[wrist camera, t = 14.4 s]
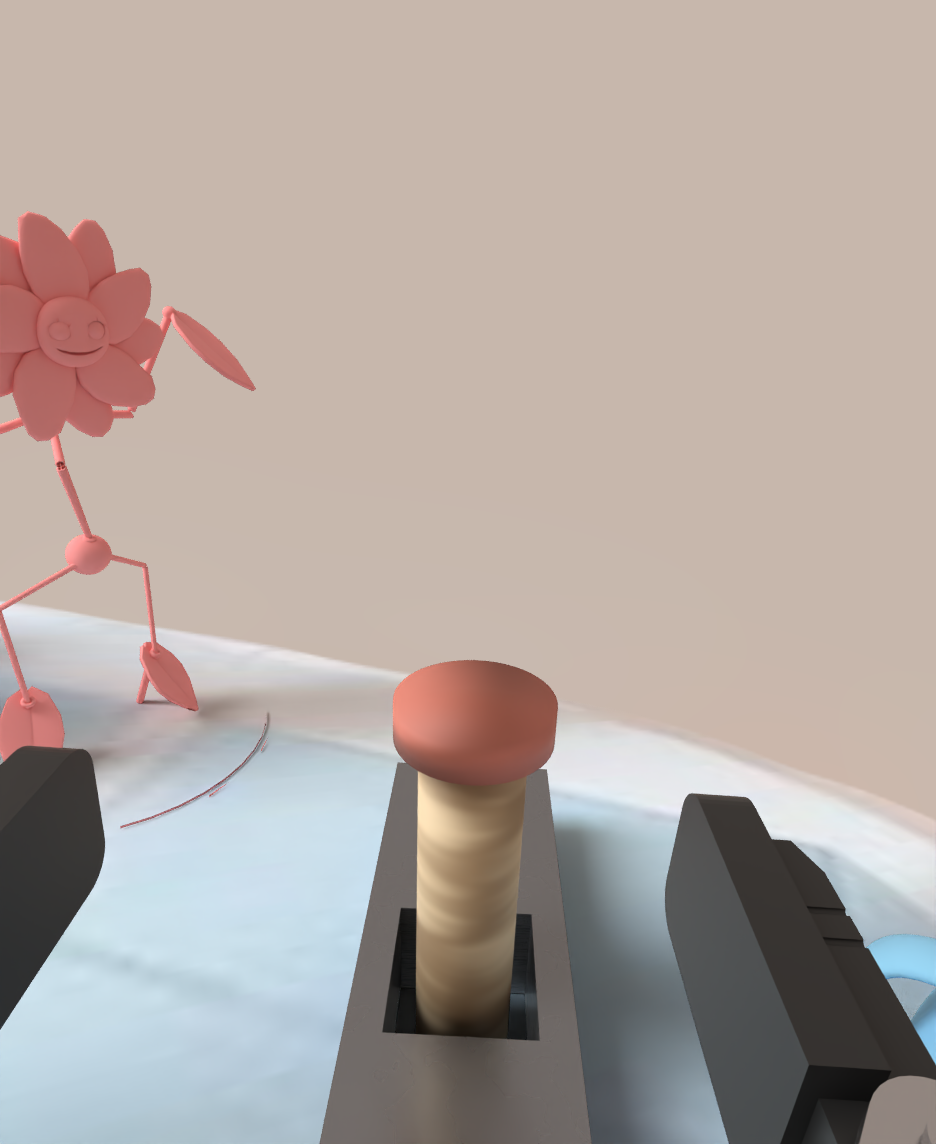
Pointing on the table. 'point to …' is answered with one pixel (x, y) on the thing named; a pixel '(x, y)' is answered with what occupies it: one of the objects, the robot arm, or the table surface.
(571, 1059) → the bar
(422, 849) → the oak pin
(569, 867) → the table surface
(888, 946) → the decorative pot
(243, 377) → the figurine
